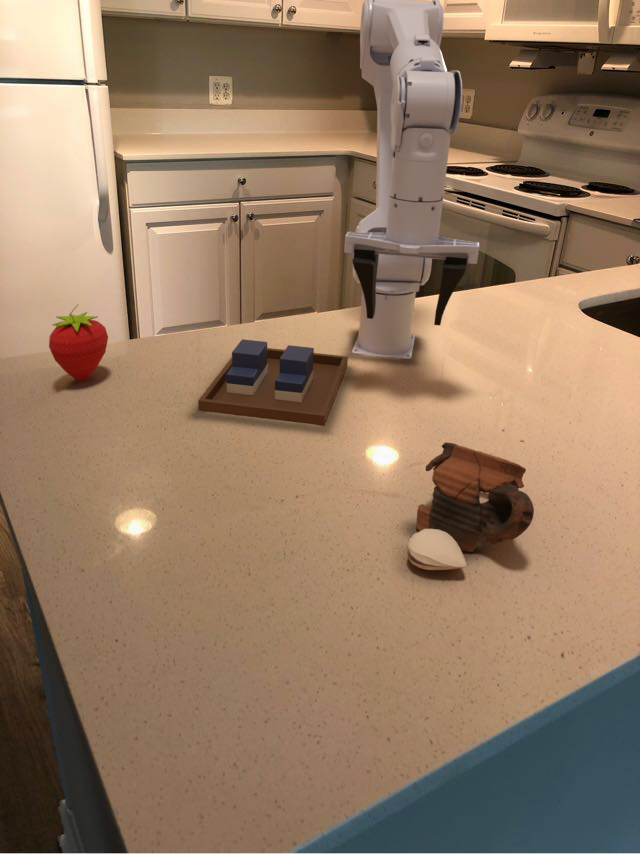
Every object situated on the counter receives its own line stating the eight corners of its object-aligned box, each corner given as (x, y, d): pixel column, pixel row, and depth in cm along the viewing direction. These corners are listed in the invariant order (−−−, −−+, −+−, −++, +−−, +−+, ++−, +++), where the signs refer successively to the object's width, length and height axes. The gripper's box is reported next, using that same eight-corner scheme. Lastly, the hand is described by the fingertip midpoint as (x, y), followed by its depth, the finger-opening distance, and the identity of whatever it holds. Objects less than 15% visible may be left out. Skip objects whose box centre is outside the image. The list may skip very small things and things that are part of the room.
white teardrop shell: (424, 540, 60) (428, 515, 59) (477, 565, 57) (481, 540, 56) (396, 564, 57) (399, 538, 56) (450, 592, 54) (454, 566, 53)
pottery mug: (386, 518, 64) (414, 430, 63) (460, 536, 69) (486, 455, 68) (479, 564, 53) (513, 460, 53) (557, 581, 58) (589, 486, 58)
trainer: (287, 375, 88) (288, 344, 86) (313, 378, 87) (314, 346, 85) (274, 399, 82) (274, 366, 80) (301, 402, 81) (302, 369, 79)
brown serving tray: (241, 357, 94) (241, 345, 93) (347, 369, 92) (347, 356, 91) (198, 414, 79) (197, 400, 78) (324, 430, 77) (324, 415, 76)
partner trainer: (243, 369, 89) (242, 338, 87) (267, 372, 88) (268, 340, 86) (226, 392, 83) (225, 359, 81) (253, 395, 82) (253, 362, 80)
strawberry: (123, 375, 87) (116, 297, 83) (84, 399, 81) (73, 316, 76) (84, 367, 89) (74, 289, 84) (42, 389, 83) (29, 307, 78)
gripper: (342, 198, 73) (336, 324, 79) (486, 209, 71) (467, 337, 77) (352, 187, 79) (345, 305, 85) (484, 197, 77) (467, 316, 83)
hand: (403, 319), depth 82 cm, fingers open, 7 cm apart
